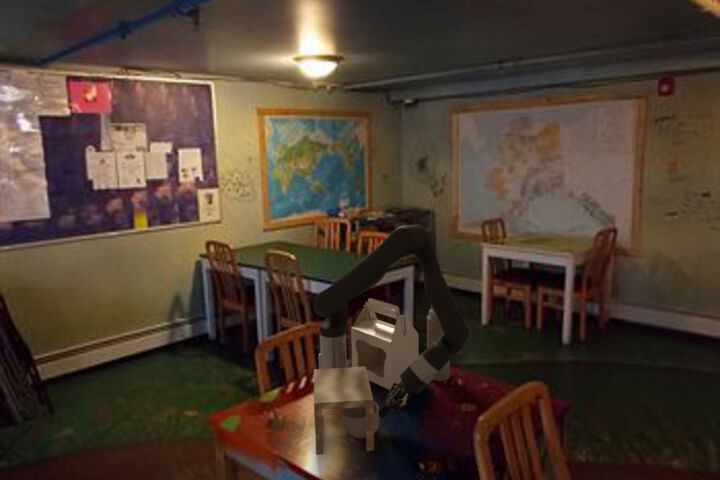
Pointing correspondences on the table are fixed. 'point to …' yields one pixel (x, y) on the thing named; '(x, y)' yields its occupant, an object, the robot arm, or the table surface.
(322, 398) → the miniature side table
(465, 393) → the table surface
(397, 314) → the gable box
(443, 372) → the thermos bottle
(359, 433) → the teacup
